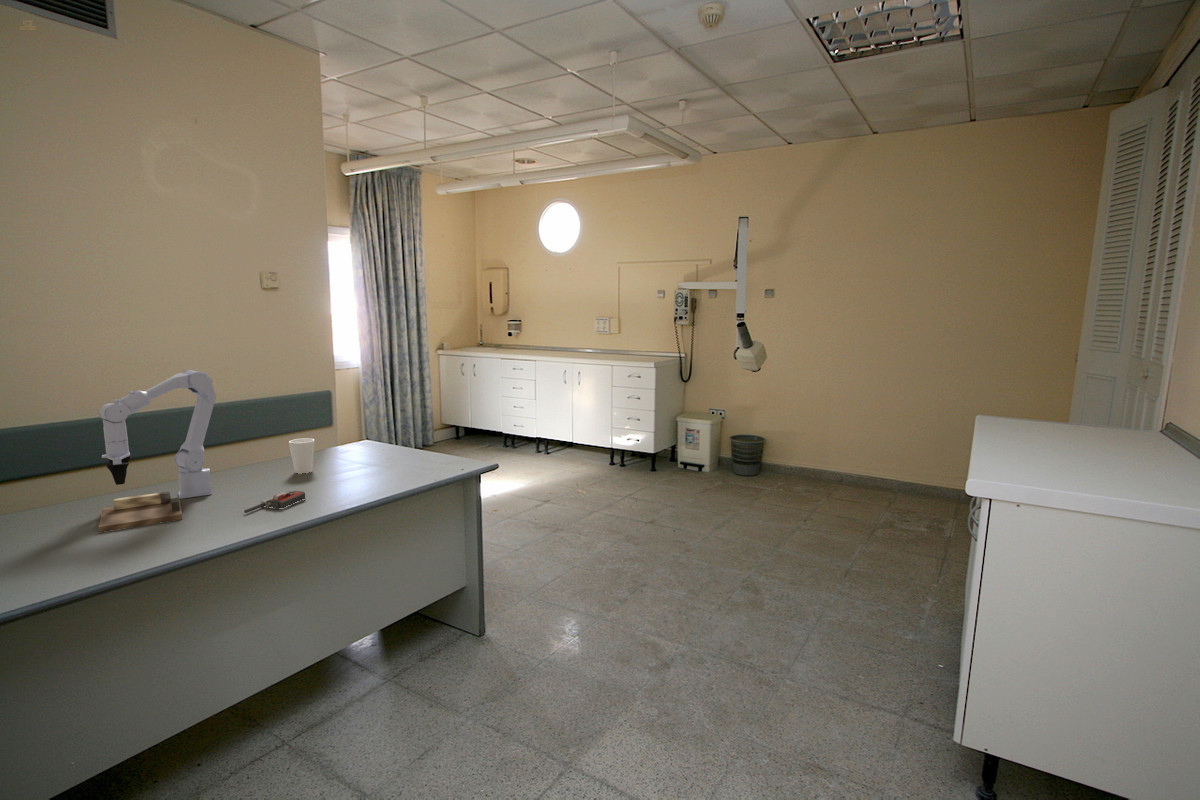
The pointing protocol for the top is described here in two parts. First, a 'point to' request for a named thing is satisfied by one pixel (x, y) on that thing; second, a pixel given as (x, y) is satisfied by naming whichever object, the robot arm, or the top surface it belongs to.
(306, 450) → the foam cup
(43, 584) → the top surface
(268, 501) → the walkie-talkie
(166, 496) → the folding leg
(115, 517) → the stool seat
